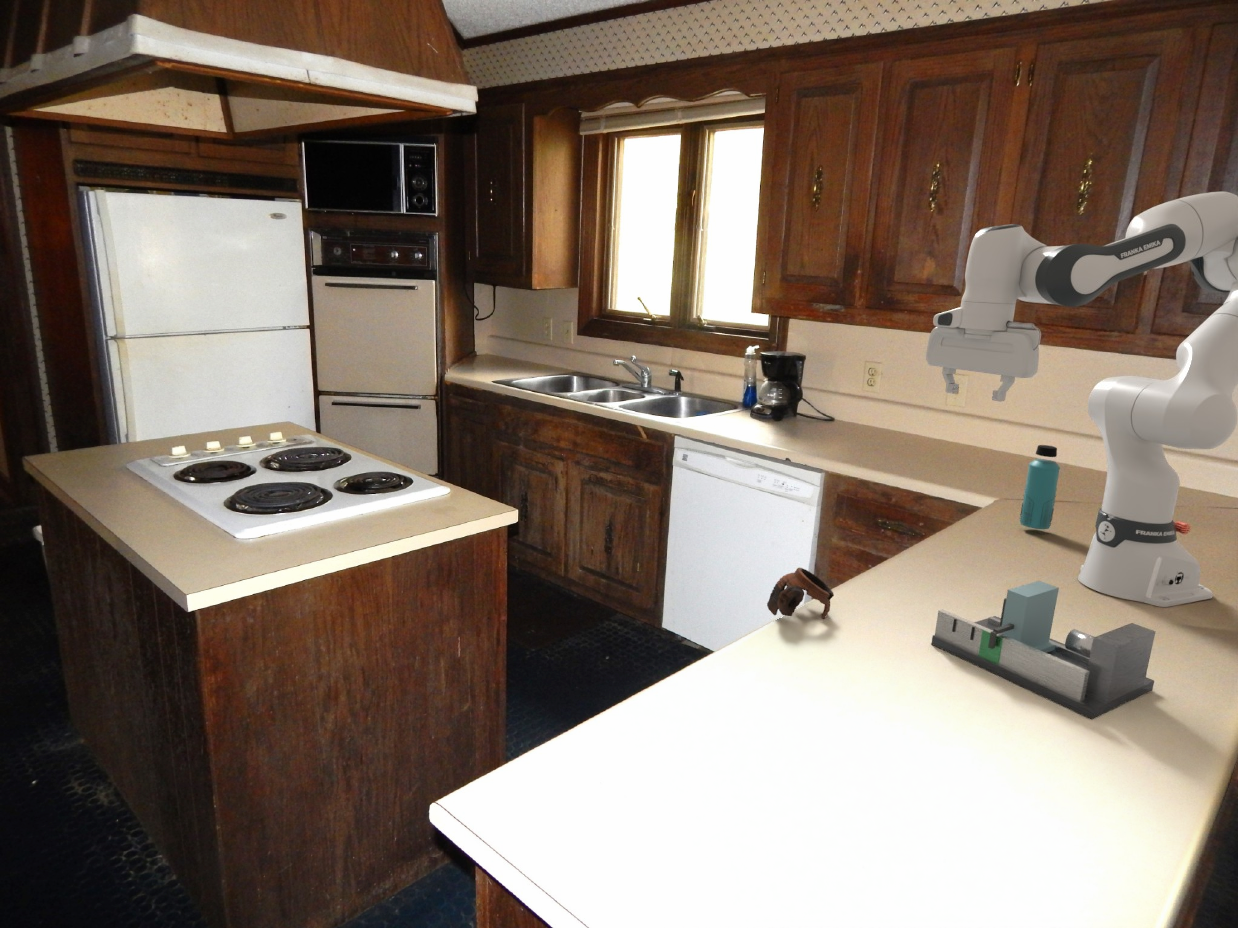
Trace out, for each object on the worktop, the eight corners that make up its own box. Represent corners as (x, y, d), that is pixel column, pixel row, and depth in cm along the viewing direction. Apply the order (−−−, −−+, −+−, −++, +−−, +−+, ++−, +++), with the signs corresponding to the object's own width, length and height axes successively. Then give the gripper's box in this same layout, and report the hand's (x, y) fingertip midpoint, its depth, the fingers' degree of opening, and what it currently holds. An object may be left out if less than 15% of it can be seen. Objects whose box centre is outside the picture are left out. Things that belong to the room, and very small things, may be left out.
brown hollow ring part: (771, 598, 139) (800, 561, 137) (815, 635, 135) (845, 597, 133) (750, 603, 128) (780, 563, 126) (797, 643, 124) (829, 602, 122)
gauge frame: (931, 644, 122) (939, 586, 120) (993, 624, 131) (1002, 569, 129) (1091, 719, 103) (1105, 651, 101) (1152, 690, 111) (1166, 626, 109)
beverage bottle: (1053, 537, 180) (1069, 450, 175) (1021, 534, 181) (1036, 447, 176) (1044, 528, 186) (1059, 444, 181) (1013, 525, 187) (1027, 441, 183)
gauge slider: (972, 653, 116) (981, 592, 114) (1022, 636, 123) (1032, 578, 120) (1004, 668, 112) (1015, 605, 110) (1054, 649, 119) (1065, 589, 116)
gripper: (1052, 324, 135) (1039, 405, 139) (947, 316, 152) (937, 388, 155) (1031, 323, 132) (1018, 406, 135) (926, 315, 149) (916, 389, 152)
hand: (974, 396), depth 145 cm, fingers open, 8 cm apart
